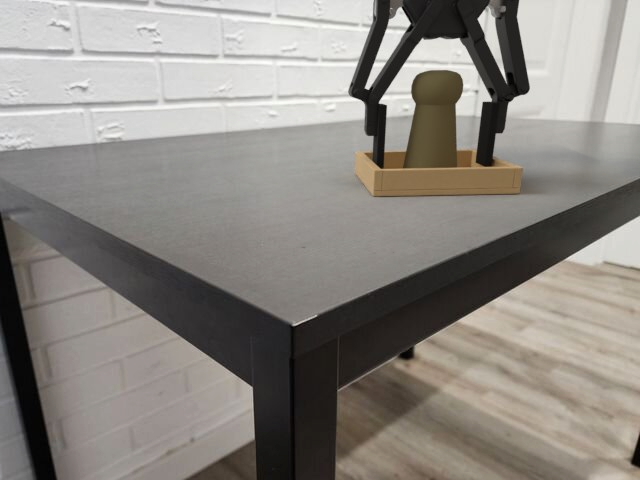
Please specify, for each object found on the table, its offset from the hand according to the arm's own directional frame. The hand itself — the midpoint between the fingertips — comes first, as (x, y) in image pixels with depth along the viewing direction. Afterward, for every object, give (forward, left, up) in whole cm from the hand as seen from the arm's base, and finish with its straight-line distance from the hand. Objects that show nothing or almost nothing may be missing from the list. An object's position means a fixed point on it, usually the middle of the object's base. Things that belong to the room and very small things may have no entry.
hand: (430, 165), depth 56 cm
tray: (0, 0, -2) cm, 2 cm away
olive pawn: (0, 0, -1) cm, 1 cm away
